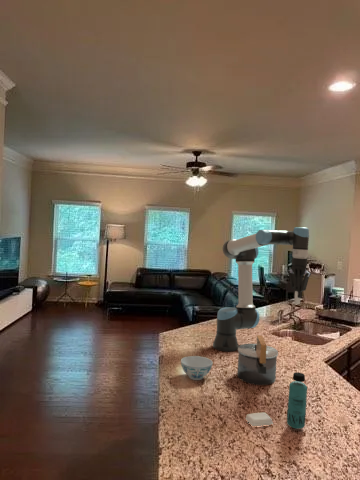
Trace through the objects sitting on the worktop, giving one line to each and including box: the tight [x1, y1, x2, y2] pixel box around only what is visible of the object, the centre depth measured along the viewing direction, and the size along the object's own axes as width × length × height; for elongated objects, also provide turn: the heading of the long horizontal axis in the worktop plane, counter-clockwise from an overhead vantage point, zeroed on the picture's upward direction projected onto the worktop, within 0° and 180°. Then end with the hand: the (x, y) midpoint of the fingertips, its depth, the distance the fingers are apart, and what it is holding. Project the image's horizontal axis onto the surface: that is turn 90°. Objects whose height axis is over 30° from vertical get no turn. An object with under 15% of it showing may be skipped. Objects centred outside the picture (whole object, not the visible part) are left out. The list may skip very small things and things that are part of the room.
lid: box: [237, 334, 279, 364], centre depth 179 cm, size 28×19×9 cm, turn 175°
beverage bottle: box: [286, 372, 308, 430], centre depth 137 cm, size 6×7×20 cm
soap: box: [244, 411, 274, 426], centre depth 141 cm, size 9×7×3 cm
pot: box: [237, 352, 278, 386], centre depth 181 cm, size 32×18×12 cm, turn 175°
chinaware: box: [180, 355, 213, 381], centre depth 181 cm, size 15×15×8 cm
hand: (297, 303), depth 195 cm, fingers closed
